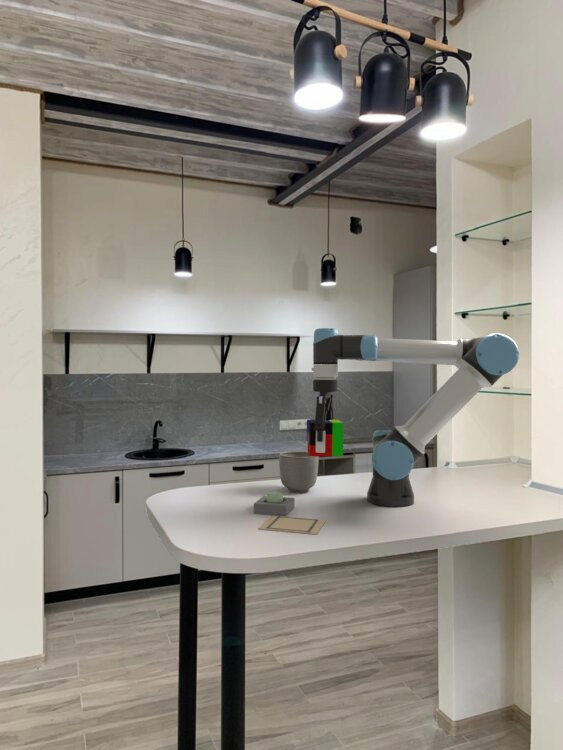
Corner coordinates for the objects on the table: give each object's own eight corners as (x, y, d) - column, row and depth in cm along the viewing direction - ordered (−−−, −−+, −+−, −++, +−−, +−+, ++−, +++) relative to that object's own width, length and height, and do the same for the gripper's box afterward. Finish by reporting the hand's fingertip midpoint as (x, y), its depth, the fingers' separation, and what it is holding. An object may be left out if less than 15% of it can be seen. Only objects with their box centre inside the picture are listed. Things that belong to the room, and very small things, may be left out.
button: (284, 503, 168) (284, 492, 168) (280, 507, 163) (280, 496, 163) (269, 502, 169) (269, 491, 169) (264, 506, 164) (264, 495, 164)
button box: (294, 507, 170) (294, 497, 170) (286, 516, 160) (286, 505, 160) (263, 505, 172) (263, 495, 172) (253, 513, 163) (253, 503, 163)
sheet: (325, 520, 156) (325, 519, 155) (316, 534, 143) (316, 533, 143) (271, 516, 160) (271, 515, 160) (258, 529, 147) (258, 528, 147)
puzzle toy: (306, 451, 174) (306, 419, 173) (337, 451, 174) (338, 419, 174) (309, 456, 164) (310, 423, 163) (343, 456, 164) (343, 423, 164)
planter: (272, 493, 188) (272, 455, 188) (287, 485, 201) (287, 449, 201) (310, 497, 183) (311, 458, 183) (323, 488, 196) (323, 452, 196)
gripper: (321, 377, 181) (320, 443, 181) (304, 379, 158) (303, 454, 158) (343, 378, 179) (342, 444, 179) (330, 380, 156) (329, 456, 156)
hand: (324, 449), depth 169 cm, fingers closed on puzzle toy, 12 cm apart
